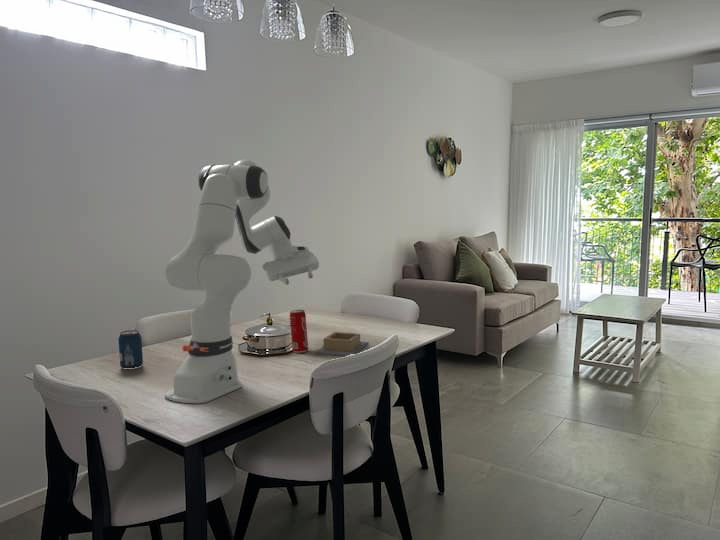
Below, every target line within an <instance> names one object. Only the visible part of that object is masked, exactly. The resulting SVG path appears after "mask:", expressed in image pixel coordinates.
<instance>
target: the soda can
mask: <svg viewBox="0 0 720 540" xmlns="http://www.w3.org/2000/svg"><path fill="white" fill-rule="evenodd" d="M142 342H143V341H142V335H141V334H140V330H129V329H128V330H125V331H121V332H120V333H119V337H118V352H119V364H120V367H121V369H122V368H135V367H139V366H141V365H142V366H143V364H144V358H143V343H142ZM142 366H141V367H142Z"/></svg>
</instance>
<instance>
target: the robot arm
mask: <svg viewBox="0 0 720 540" xmlns="http://www.w3.org/2000/svg"><path fill="white" fill-rule="evenodd" d="M268 180H269V179H268V175H267V172H266V171H265V170H264V169H263V167H260V166H258V165H257V164H256V163H255V162H254V161H252V160H250V159H240V160H238V161H236V162H235V163H234V164H233V163H228V164H227V163H226V164H217V165H216V164H210V165H206V166H204V167H203V168H202V169H201V171H200V172H199V175H198V187H199V189H200V191H201V192H200V196H199V201H198V205H197V212H196V219H195V223H194V226H193V227H194V228H193V230H192V234H191V236H190V238H189V239H188V241H187V243H186V245H185V246H184V247H183V248H182V250H181V251H179V253H177V254H175V256H172V257H171V258H170V260H169V261H168V262H167V265H166V266H165V277H166V280H167V283H168V284H169V286H170V287H172V288H173V289H177V290H181V291H185V292H201V293H202V292H203V293H205V300H204V302H203V303H202V304H201V305H199V306H197V307H196V308H195V309H194V310H193V311H192V312H191V315H190V327H191V328H190V330H191V339H190V342H189V344H185V343H184V344H183V345H182V348H181V350H182V351H183V352H187V353H188V355H187V356H186V358H185V359H184V361H183V362H182V363H181V365H180V367H179V368H178V369H177V371H176V372H175V374H174V376H173V388H171V389H170V390H168V391H167V392H165V393H164V398H165V399H166V398H167V399H166V400H168V399H169V400H168V401H171V400H172V402H177V403H184V404H186V403H187V404H203V403H208V402H210V401H212V400H215V399H217V398H219V397H222V396H224V395H226V394H229V393H231V392H233V391H235V390H237V389H240V388H242V386H243V385H242V382H241V381H240V380H239V375H238V374H239V373H238V365H237V359H236V357H235V355H234V353H233V351H232V349H233V342H234V341H233V337H232V335H231V313H232V311H231V310H232V308H233V305H234V303H235V300H236V298H237V296H239V294H240V293H241V292H243V290H245V289H246V288H247V287H248V285H249V283H250V281H251V278H252V269H251V266H250V264H249V263H248V261H247V260H246V259H245V258H243V257H241V256H237V255H230V254H216V252H217V251H218V250H219V249H220V247H221V246H223V245H225V244H226V243H229V242H230V240H231V239H232V238H233V235H234V230H235V225H236V224H237V228H238V231H239V237H240V243H241V246H242V248H243V249H244V250H245V251H246V252H247V253H248V254H253V255H254V254H255V255H257V254H258V253H259V252H262V250H265V249H266V248H268V249H269V251H270V253H272V256H273V258H274V260H273V259H272V260H270V261H266V262H264V264H262V269H263V271H265V272H266V275H267V276H266V277H267V279H268V281H270V282H274V281H280V282H282V283H283V284H284V286H287V285H289V284H290V280H289V277H294V276H297V275H302V274H305V273H307V278H308V279H313V278H314V274H313V271H316V270H318V269H319V267H320V262H319V259H318V258H317V256H316V255H315V254H314V253H313V252H312V251H309V247H308V246H305V245H304V246H303V245H302V246H301V245H300V246H299V245H298V246H297V245H292V242H291V230H290V229H289V227H288V226H287V225H286V222H285V221H284V219H283V218H282V217H280V216H277V215H273V216H271V217H268V218H267V219H264V220H262V221H261V222H259V223H255V224H254V225H252V226H251V225H250V221H251V219H252V218H253V217H254V216H255V215H256V214H257V213H259V211H261V210H263V209H264V208H265V207H266V206H267V204H268V202H269V201H270V198H271V190H270V187H269V181H268ZM235 222H236V224H235Z"/></svg>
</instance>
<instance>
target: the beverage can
mask: <svg viewBox="0 0 720 540" xmlns="http://www.w3.org/2000/svg"><path fill="white" fill-rule="evenodd" d="M306 318H307V315H306V311H305V310H304V309H293V310H290V312H289V323H290V325H289V326H290V335H291V336H290V337H291V347H292V350H291V351H293V353H295V354H296V353H299V354H300V353H305V352H307V351H308V350H309V342H308V341H309V339H308V328H307V326H308V325H307V319H306Z"/></svg>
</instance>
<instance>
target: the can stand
mask: <svg viewBox="0 0 720 540" xmlns="http://www.w3.org/2000/svg"><path fill="white" fill-rule="evenodd" d="M322 341H323V346H322V347H320V348H319V349H316V350H315V351H314V354H315V355H320V356H321V355H322V356H333V357H342V356H347V355H350V354H355V353H357V352H358V353H359V352H360V351H362V350H363V349H364V348H365V347H367V346H368V345H369V341H361V334H360V333H353V332H339V331H333V332H332V333H330V334H328V335H327V336H325V337H324V338H323V340H322ZM358 353H357V354H358ZM355 355H356V354H355Z"/></svg>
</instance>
